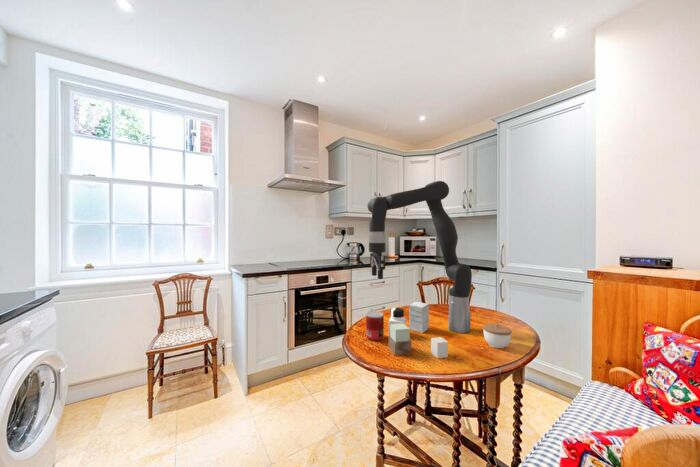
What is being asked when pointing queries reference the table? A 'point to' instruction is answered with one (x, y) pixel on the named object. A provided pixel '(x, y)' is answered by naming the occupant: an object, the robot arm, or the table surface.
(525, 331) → the table surface
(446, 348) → the cream block
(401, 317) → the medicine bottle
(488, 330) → the lidded jar
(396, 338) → the sage block
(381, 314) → the canned food
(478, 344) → the table surface
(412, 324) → the supplement box
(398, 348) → the walnut base block
